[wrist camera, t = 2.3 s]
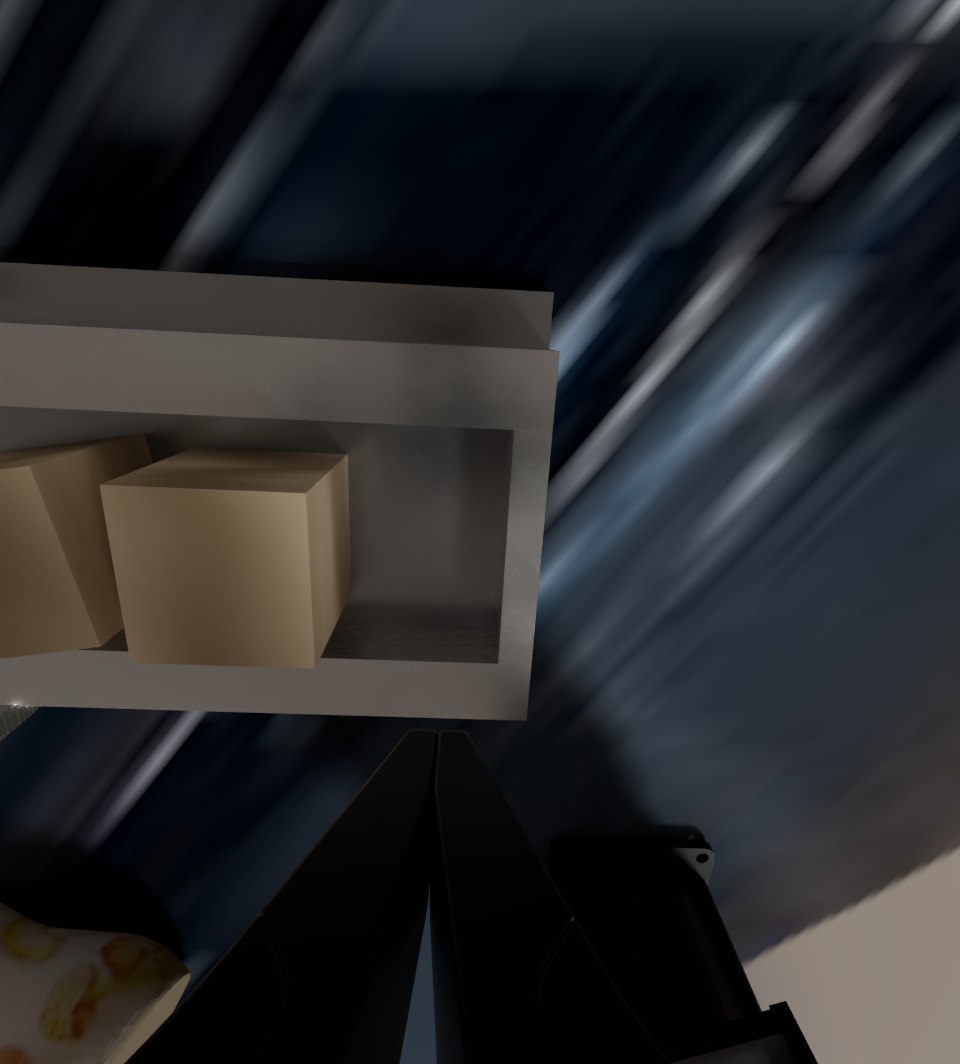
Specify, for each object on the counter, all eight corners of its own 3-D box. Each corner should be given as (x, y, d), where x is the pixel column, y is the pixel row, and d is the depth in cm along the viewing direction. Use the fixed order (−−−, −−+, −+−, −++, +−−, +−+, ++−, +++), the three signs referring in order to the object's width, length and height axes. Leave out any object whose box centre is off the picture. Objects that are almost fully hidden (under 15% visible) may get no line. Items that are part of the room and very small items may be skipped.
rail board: (550, 294, 16) (572, 281, 13) (516, 709, 20) (525, 783, 17) (-565, 233, 15) (-869, 202, 12) (-343, 683, 20) (-514, 755, 16)
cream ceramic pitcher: (-46, 833, 22) (-137, 1120, 14) (201, 840, 28) (235, 1047, 20) (-128, 994, 23) (-262, 1364, 15) (134, 967, 28) (141, 1222, 20)
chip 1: (143, 433, 16) (30, 466, 12) (188, 573, 18) (100, 646, 14) (-6, 452, 17) (-171, 492, 12) (51, 590, 18) (-79, 668, 14)
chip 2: (347, 454, 17) (305, 493, 12) (351, 591, 18) (314, 669, 14) (194, 447, 17) (99, 484, 12) (210, 586, 18) (130, 662, 14)
